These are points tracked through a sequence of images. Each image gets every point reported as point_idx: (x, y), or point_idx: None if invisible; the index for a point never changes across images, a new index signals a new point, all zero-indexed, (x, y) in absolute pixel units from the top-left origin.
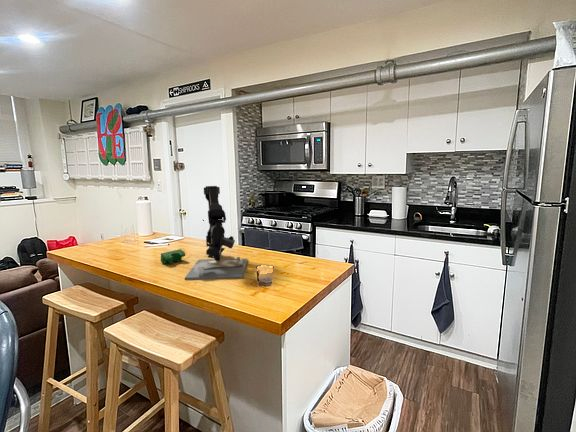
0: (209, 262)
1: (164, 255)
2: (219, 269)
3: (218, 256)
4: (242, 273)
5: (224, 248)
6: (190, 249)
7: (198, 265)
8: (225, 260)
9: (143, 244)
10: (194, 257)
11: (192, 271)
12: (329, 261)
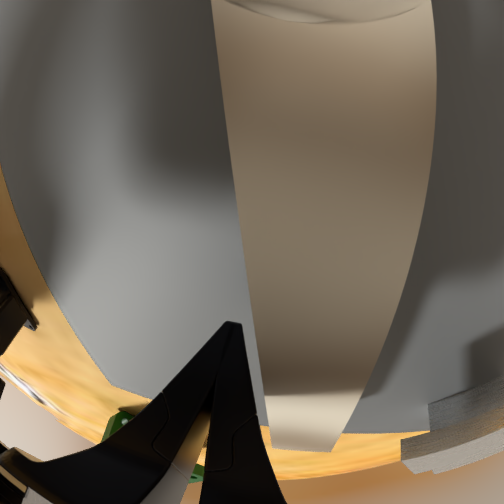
0: (451, 448)
1: (191, 481)
2: (441, 294)
3: (257, 446)
4: None
5: (15, 475)
6: (13, 354)
7: (469, 460)
8: (276, 285)
9: (54, 410)
10: (71, 371)
11: (376, 426)
12: None
